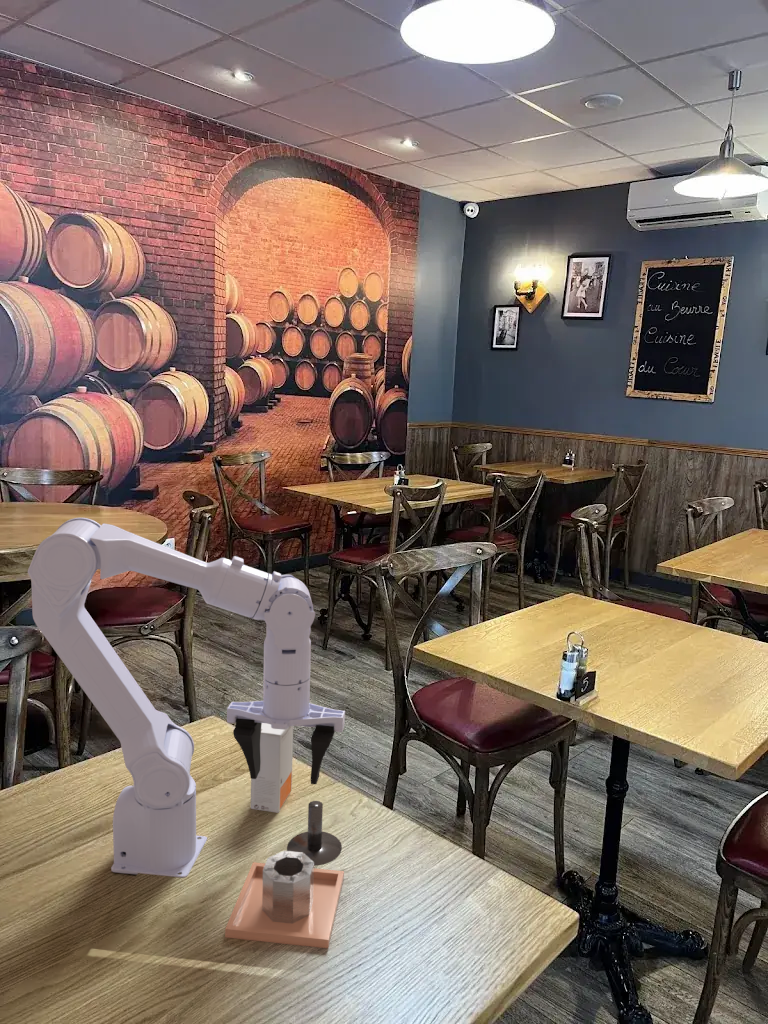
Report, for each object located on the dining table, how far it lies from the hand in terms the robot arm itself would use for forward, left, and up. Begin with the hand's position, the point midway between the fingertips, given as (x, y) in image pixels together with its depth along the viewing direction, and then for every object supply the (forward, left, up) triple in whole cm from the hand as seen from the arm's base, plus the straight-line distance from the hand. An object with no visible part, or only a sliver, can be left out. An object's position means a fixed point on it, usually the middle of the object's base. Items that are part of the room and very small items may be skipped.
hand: (285, 777), depth 95 cm
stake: (+4, 0, -10) cm, 11 cm away
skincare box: (-4, +10, -10) cm, 15 cm away
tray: (+3, -11, -10) cm, 15 cm away
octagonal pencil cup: (+3, -11, -9) cm, 15 cm away
